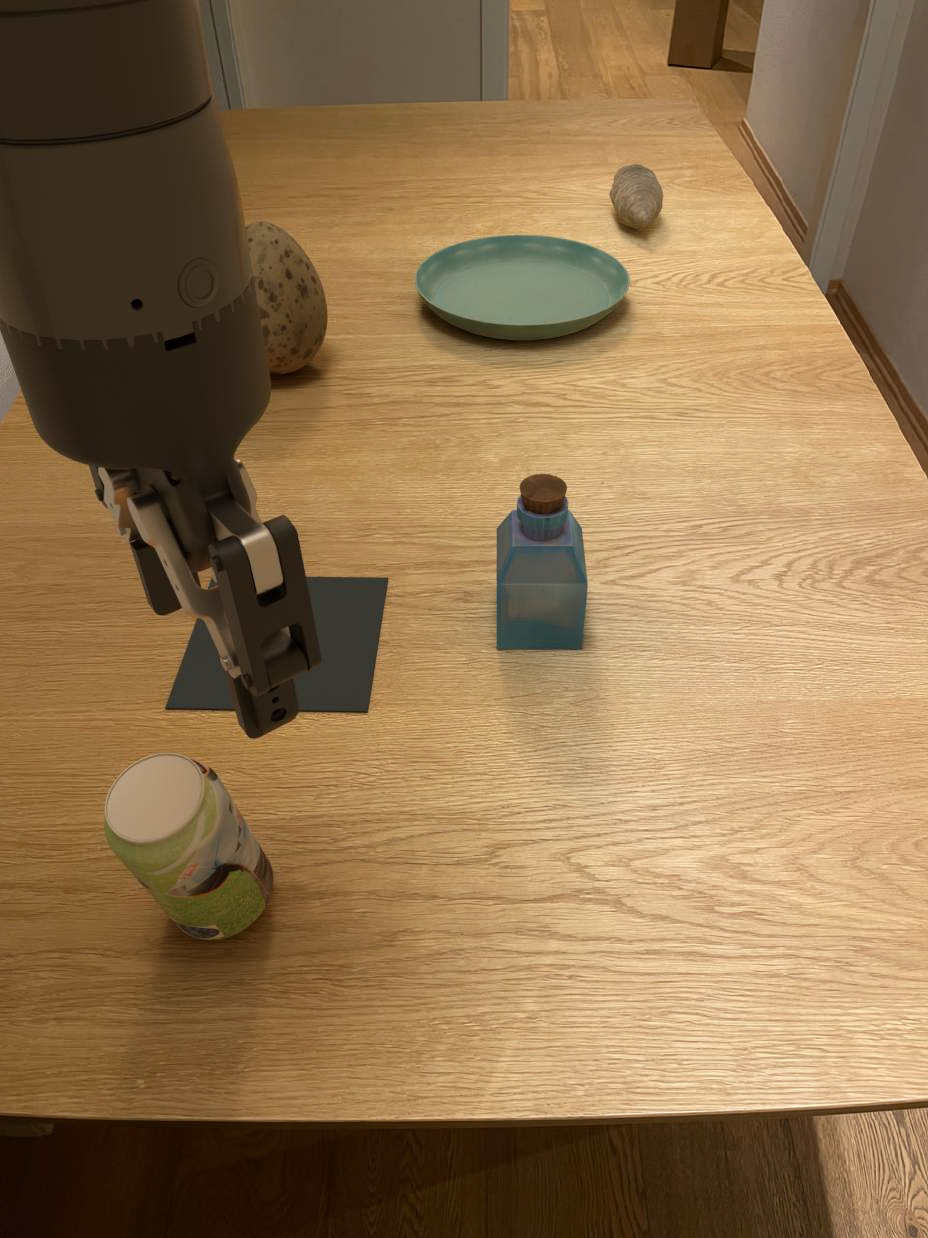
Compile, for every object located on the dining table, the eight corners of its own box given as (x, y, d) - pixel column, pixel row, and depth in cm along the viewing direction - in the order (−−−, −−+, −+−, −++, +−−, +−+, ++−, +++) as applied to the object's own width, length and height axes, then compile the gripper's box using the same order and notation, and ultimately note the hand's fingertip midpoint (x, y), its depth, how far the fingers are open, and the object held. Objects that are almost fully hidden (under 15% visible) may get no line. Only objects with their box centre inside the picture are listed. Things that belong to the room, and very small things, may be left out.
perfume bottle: (577, 592, 75) (587, 460, 67) (582, 649, 70) (593, 515, 62) (496, 592, 75) (496, 461, 67) (496, 648, 70) (496, 515, 62)
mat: (367, 712, 66) (367, 711, 66) (165, 709, 67) (165, 707, 67) (388, 578, 76) (388, 577, 76) (212, 577, 77) (212, 575, 77)
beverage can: (296, 876, 57) (263, 744, 49) (224, 985, 52) (172, 860, 44) (208, 839, 59) (162, 707, 51) (130, 941, 54) (65, 813, 46)
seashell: (616, 222, 121) (631, 151, 118) (598, 225, 134) (611, 161, 131) (666, 231, 122) (682, 162, 119) (643, 233, 134) (657, 171, 132)
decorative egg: (303, 334, 107) (283, 194, 97) (353, 373, 101) (336, 227, 90) (213, 363, 103) (182, 220, 92) (259, 406, 96) (230, 256, 86)
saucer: (608, 364, 101) (610, 334, 98) (387, 339, 106) (384, 310, 104) (641, 269, 118) (644, 241, 115) (450, 251, 123) (449, 225, 120)
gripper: (-74, 228, 31) (70, 605, 42) (85, 411, 23) (213, 823, 34) (146, 179, 34) (227, 540, 45) (358, 322, 26) (394, 725, 37)
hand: (221, 660), depth 40 cm, fingers open, 8 cm apart
